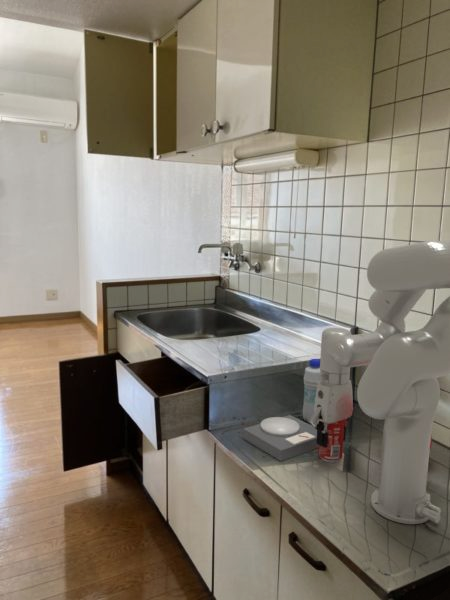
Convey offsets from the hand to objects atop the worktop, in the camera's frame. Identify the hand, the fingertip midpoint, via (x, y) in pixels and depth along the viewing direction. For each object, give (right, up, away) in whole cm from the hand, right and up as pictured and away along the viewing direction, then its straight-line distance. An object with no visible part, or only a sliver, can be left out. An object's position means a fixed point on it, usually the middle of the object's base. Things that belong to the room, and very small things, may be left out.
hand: (330, 441), depth 125 cm
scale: (-11, -3, +10) cm, 15 cm away
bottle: (0, -1, +25) cm, 25 cm away
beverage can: (0, -5, +1) cm, 5 cm away
